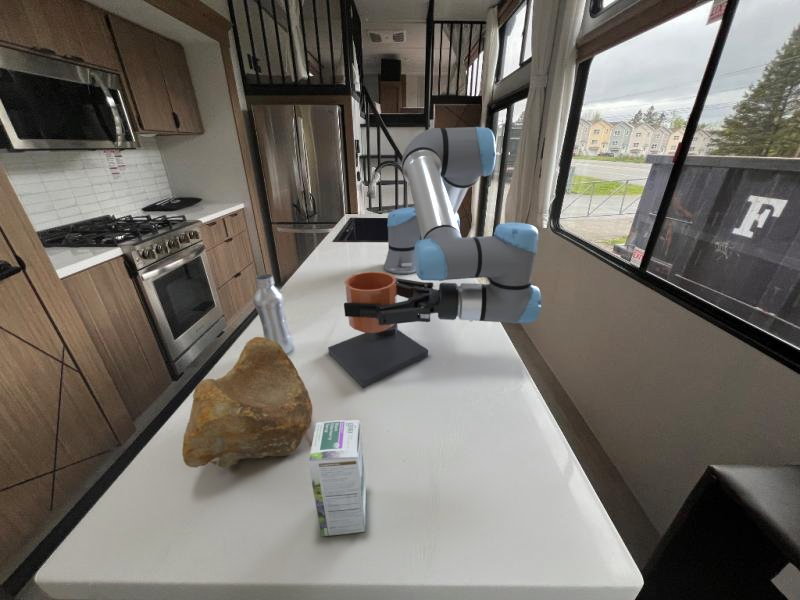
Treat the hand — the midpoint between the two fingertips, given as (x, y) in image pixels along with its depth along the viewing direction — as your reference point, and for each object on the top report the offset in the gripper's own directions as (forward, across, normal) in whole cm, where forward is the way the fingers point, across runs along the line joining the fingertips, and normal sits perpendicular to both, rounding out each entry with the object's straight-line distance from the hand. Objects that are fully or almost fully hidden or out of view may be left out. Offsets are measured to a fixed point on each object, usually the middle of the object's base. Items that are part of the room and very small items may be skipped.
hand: (352, 297), depth 69 cm
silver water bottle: (+20, +1, -17) cm, 26 cm away
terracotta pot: (-4, 0, -6) cm, 7 cm away
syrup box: (-7, -34, -17) cm, 39 cm away
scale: (-4, +3, -16) cm, 17 cm away
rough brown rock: (+10, -23, -17) cm, 30 cm away
